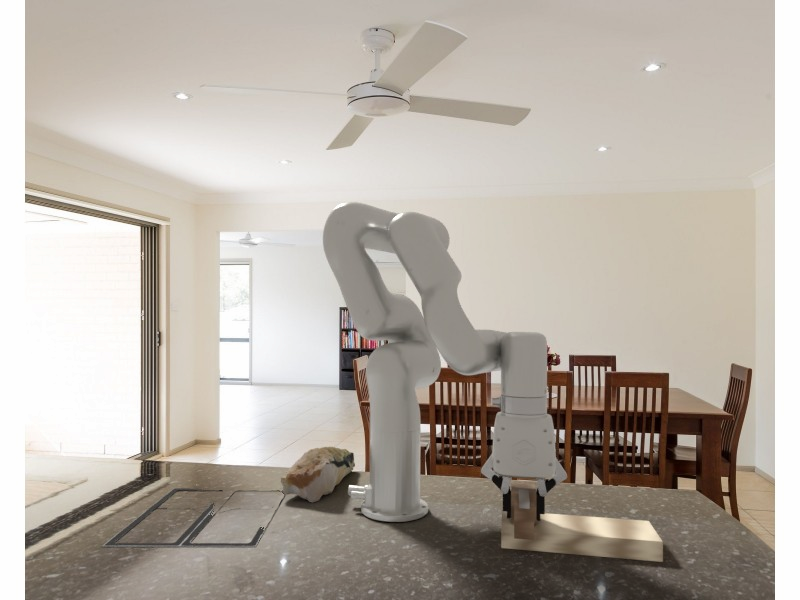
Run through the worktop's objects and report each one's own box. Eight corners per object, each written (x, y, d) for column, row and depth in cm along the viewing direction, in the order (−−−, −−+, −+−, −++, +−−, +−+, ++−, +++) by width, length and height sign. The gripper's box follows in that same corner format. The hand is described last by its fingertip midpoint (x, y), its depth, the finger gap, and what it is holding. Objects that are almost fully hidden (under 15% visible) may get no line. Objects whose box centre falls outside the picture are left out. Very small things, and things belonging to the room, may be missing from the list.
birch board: (501, 547, 90) (501, 528, 91) (502, 527, 99) (502, 509, 99) (662, 561, 86) (662, 541, 86) (648, 539, 95) (648, 520, 95)
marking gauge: (511, 538, 88) (511, 499, 88) (511, 518, 97) (511, 483, 97) (537, 541, 87) (537, 501, 88) (535, 520, 96) (535, 484, 96)
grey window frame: (173, 491, 119) (102, 549, 89) (173, 488, 119) (102, 545, 89) (288, 491, 120) (255, 550, 90) (288, 488, 120) (255, 546, 90)
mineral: (330, 432, 138) (369, 441, 136) (323, 470, 138) (362, 480, 135) (284, 449, 113) (330, 460, 110) (275, 495, 112) (321, 508, 110)
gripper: (471, 407, 93) (470, 521, 92) (578, 411, 90) (578, 529, 89) (474, 400, 100) (474, 506, 100) (573, 404, 97) (573, 513, 96)
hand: (523, 515), depth 94 cm, fingers closed on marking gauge, 4 cm apart
